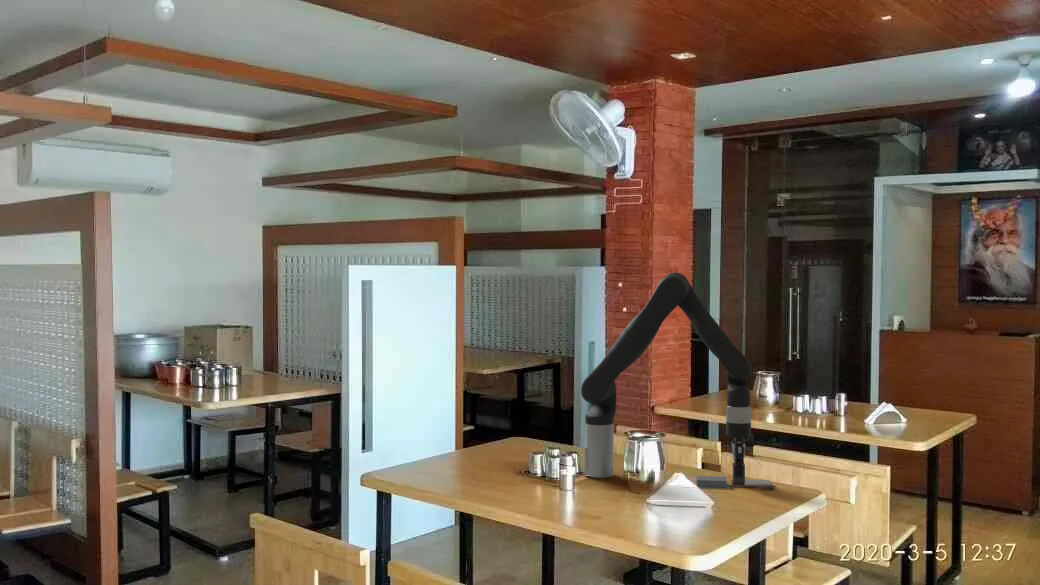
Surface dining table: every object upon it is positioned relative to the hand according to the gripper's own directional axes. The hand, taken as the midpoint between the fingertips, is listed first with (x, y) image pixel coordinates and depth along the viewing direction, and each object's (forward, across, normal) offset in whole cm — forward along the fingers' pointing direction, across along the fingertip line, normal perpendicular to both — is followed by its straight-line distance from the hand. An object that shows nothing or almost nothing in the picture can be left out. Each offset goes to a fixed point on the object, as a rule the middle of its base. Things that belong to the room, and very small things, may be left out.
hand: (738, 475), depth 276 cm
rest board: (+3, 0, -4) cm, 5 cm away
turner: (+2, 0, -4) cm, 5 cm away
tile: (+2, -2, +13) cm, 13 cm away
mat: (+3, -2, +10) cm, 11 cm away
